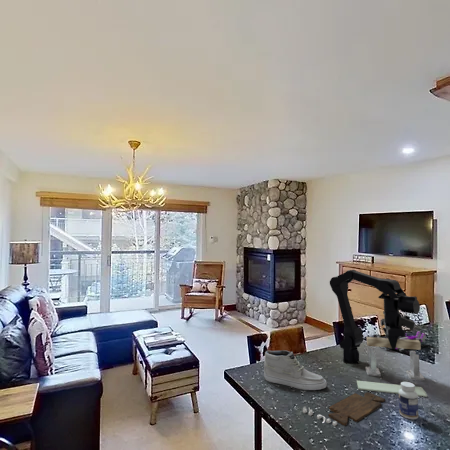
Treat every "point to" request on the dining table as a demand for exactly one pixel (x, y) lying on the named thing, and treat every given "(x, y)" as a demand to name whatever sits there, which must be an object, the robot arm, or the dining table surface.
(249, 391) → the dining table surface
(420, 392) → the mat
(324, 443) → the dining table surface
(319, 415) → the figurines set
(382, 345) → the rail
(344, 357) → the robot arm
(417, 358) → the hook standards
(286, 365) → the chukka sneaker
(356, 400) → the brown notched wooden board
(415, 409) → the pill bottle
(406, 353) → the figurine
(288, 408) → the dining table surface
